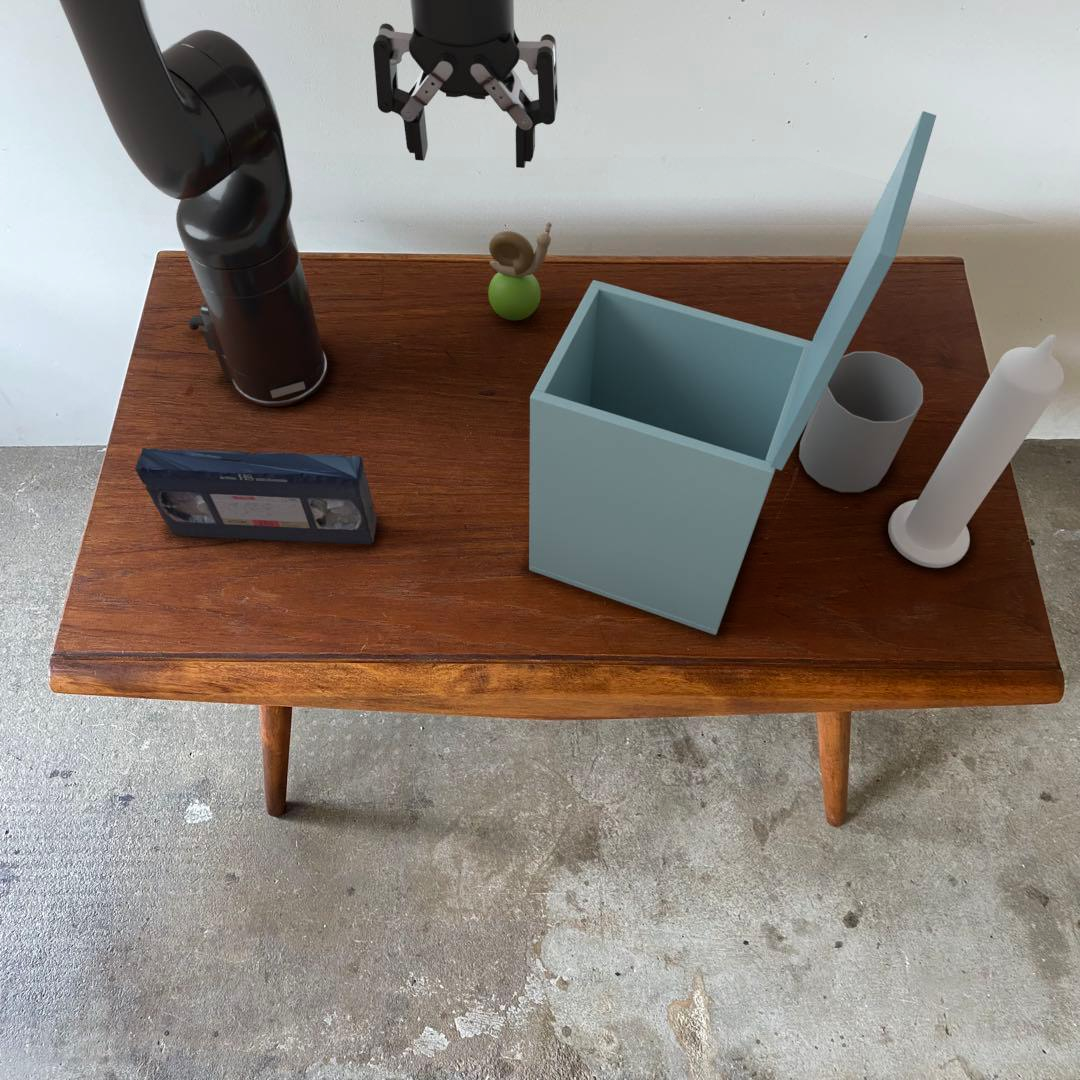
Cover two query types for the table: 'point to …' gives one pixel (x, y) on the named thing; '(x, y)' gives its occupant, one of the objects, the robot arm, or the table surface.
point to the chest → (655, 451)
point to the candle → (977, 456)
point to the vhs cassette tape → (260, 495)
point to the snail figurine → (516, 273)
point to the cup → (860, 421)
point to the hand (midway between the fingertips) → (471, 158)
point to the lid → (856, 288)
